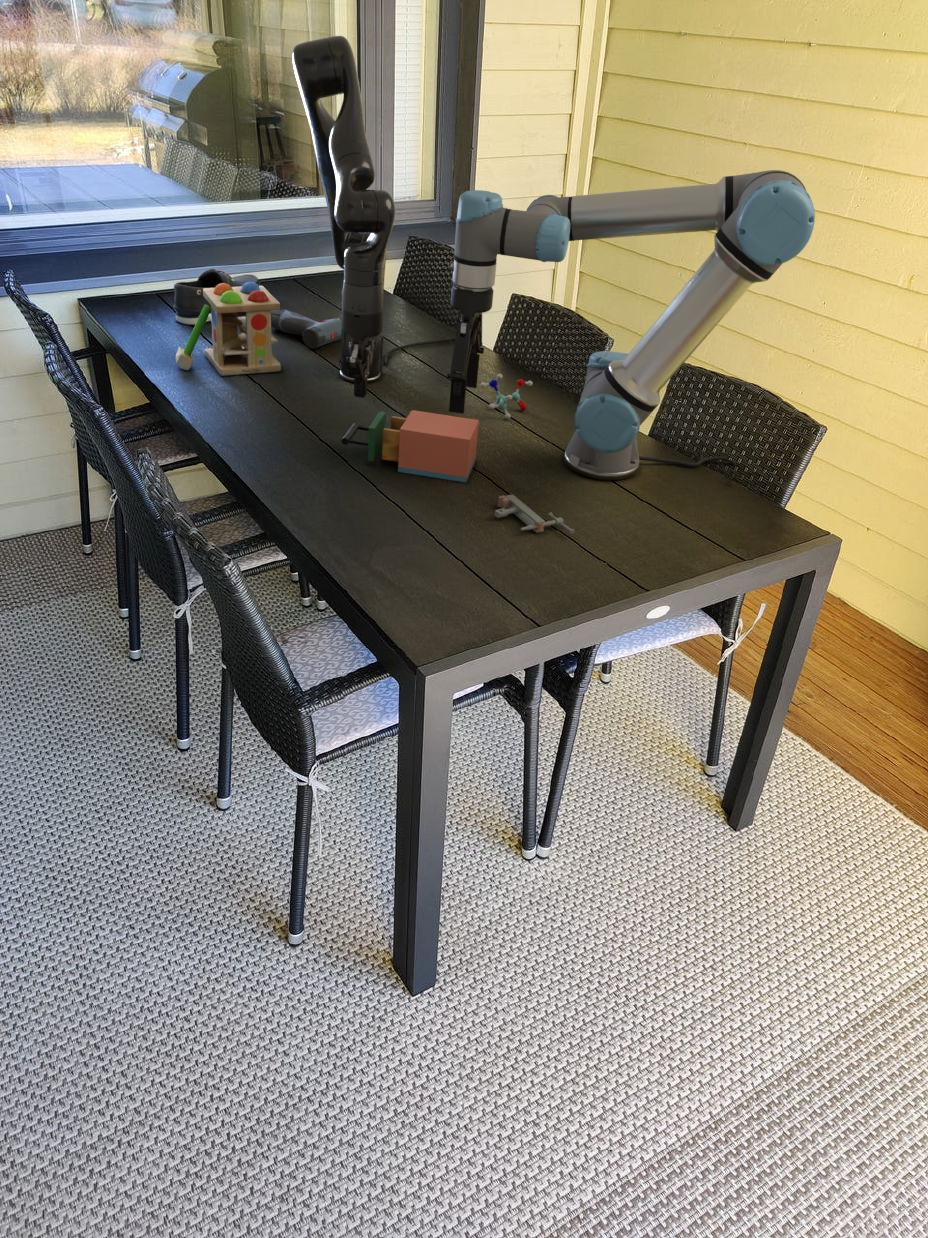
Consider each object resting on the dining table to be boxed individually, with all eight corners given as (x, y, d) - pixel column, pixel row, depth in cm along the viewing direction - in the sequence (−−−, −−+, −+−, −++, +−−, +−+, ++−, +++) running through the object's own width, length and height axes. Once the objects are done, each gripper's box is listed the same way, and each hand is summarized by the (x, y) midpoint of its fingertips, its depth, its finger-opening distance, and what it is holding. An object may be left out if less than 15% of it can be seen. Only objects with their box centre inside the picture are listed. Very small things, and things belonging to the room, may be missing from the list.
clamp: (484, 498, 180) (530, 489, 184) (483, 509, 181) (528, 500, 186) (529, 536, 169) (576, 526, 174) (527, 547, 171) (574, 537, 175)
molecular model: (528, 411, 213) (513, 366, 211) (488, 425, 216) (474, 381, 215) (541, 408, 223) (527, 366, 222) (503, 422, 227) (489, 380, 225)
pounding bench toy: (183, 379, 220) (176, 299, 210) (169, 357, 231) (162, 280, 221) (282, 371, 230) (280, 294, 220) (264, 350, 240) (262, 276, 230)
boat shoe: (280, 303, 273) (279, 264, 268) (193, 326, 249) (189, 285, 244) (246, 294, 279) (244, 257, 273) (158, 317, 255) (153, 276, 250)
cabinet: (397, 471, 192) (399, 428, 187) (409, 450, 200) (411, 409, 195) (466, 482, 190) (470, 439, 185) (475, 461, 198) (479, 419, 193)
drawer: (340, 456, 193) (340, 423, 189) (352, 438, 200) (353, 406, 196) (429, 470, 191) (431, 437, 187) (438, 452, 198) (440, 420, 194)
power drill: (305, 316, 264) (364, 334, 256) (257, 332, 251) (318, 351, 243) (305, 296, 261) (365, 314, 253) (257, 311, 248) (318, 330, 240)
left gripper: (352, 293, 186) (351, 381, 195) (332, 313, 175) (331, 405, 185) (391, 299, 185) (387, 386, 195) (373, 319, 174) (370, 411, 184)
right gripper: (464, 265, 185) (456, 373, 197) (437, 301, 164) (430, 420, 176) (504, 270, 184) (492, 379, 196) (481, 307, 164) (470, 426, 176)
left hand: (360, 395), depth 190 cm, fingers closed
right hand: (463, 399), depth 186 cm, fingers open, 13 cm apart
